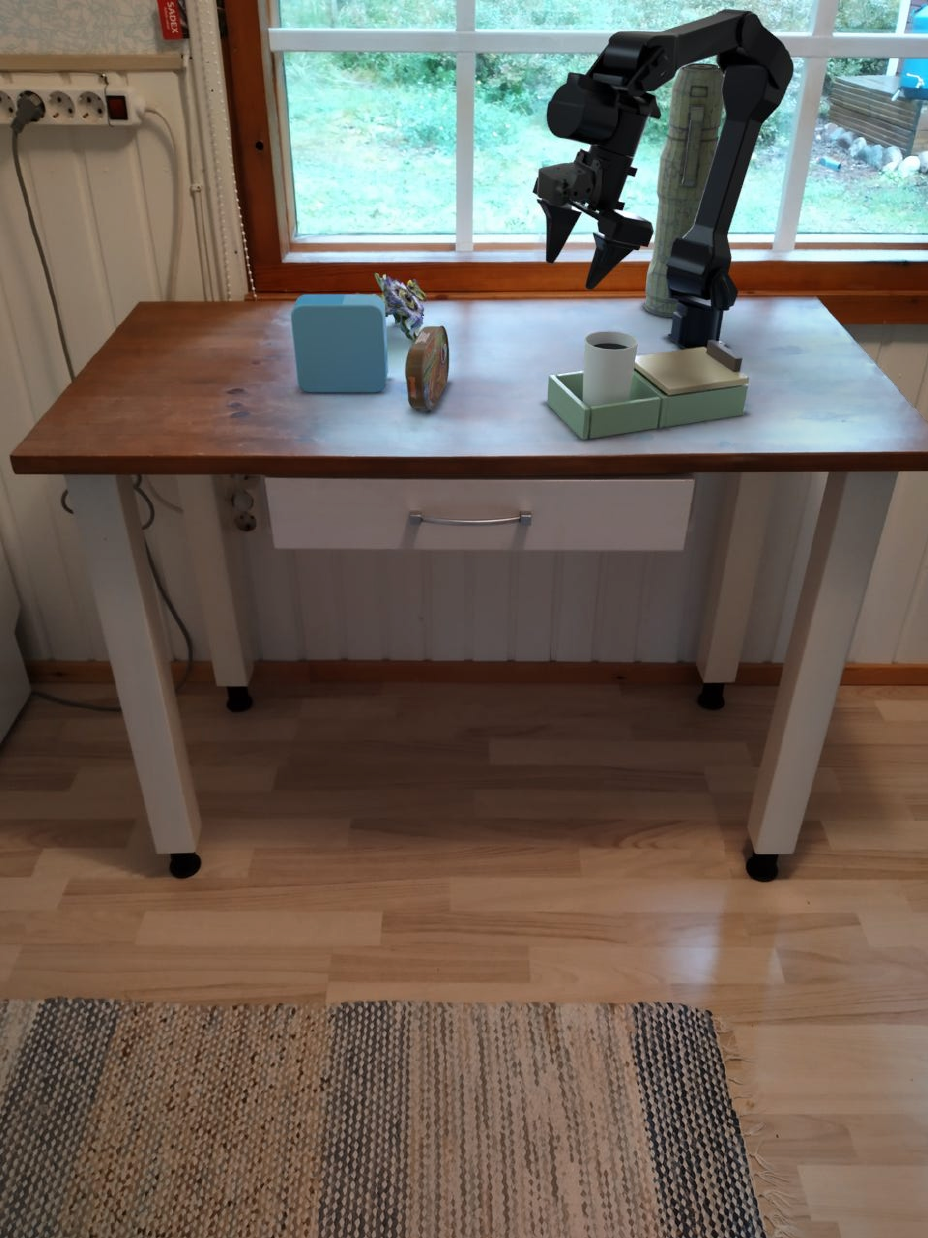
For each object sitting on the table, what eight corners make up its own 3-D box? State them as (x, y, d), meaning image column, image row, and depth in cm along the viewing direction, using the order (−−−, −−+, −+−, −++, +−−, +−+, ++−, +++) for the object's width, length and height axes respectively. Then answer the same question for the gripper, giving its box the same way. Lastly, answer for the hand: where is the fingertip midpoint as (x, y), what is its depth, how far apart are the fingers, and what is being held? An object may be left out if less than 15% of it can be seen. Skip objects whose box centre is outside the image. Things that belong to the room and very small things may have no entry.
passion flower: (416, 373, 154) (427, 327, 142) (346, 361, 152) (352, 314, 141) (422, 312, 157) (433, 263, 146) (353, 300, 156) (360, 250, 144)
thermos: (648, 320, 157) (676, 70, 136) (640, 296, 167) (665, 59, 146) (704, 321, 157) (741, 71, 136) (692, 297, 166) (725, 59, 146)
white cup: (636, 410, 130) (644, 335, 124) (621, 430, 125) (629, 353, 119) (588, 401, 132) (594, 327, 126) (571, 420, 127) (576, 345, 121)
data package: (388, 379, 138) (384, 293, 131) (386, 393, 134) (382, 305, 127) (302, 379, 138) (294, 293, 131) (298, 392, 134) (289, 305, 127)
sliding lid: (703, 352, 135) (706, 333, 133) (748, 383, 126) (752, 363, 124) (627, 362, 132) (629, 343, 130) (668, 395, 123) (671, 375, 121)
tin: (427, 420, 127) (425, 357, 122) (403, 418, 127) (400, 355, 123) (451, 376, 139) (451, 316, 134) (429, 374, 139) (428, 315, 134)
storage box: (698, 382, 137) (702, 354, 135) (742, 415, 128) (748, 385, 126) (546, 403, 131) (548, 375, 129) (582, 439, 122) (584, 409, 120)
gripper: (519, 115, 122) (482, 241, 130) (607, 159, 110) (560, 296, 118) (587, 133, 128) (547, 253, 136) (678, 177, 116) (628, 306, 124)
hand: (568, 275), depth 129 cm, fingers open, 9 cm apart
